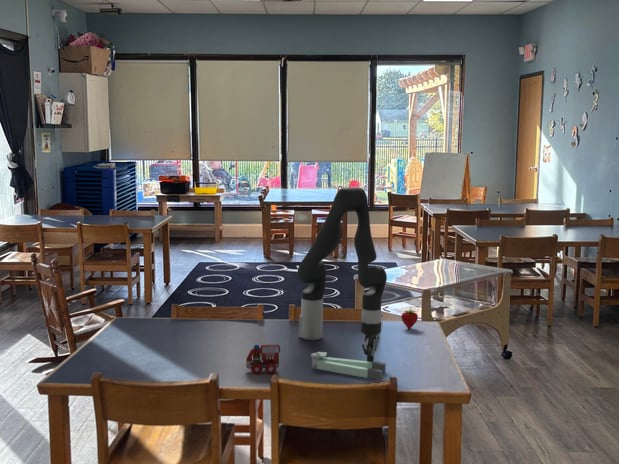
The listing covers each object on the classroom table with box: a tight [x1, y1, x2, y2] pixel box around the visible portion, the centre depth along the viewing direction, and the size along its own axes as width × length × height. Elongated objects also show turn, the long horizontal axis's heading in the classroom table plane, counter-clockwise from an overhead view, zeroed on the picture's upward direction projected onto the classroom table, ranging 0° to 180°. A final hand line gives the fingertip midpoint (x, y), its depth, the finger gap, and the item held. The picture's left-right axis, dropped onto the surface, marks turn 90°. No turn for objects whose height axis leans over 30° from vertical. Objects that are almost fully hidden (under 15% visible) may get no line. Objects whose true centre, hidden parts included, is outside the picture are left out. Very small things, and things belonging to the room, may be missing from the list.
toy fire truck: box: [245, 344, 281, 375], centre depth 260 cm, size 7×12×10 cm, turn 94°
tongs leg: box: [311, 357, 383, 381], centre depth 260 cm, size 27×3×4 cm, turn 66°
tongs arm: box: [310, 351, 387, 374], centre depth 263 cm, size 28×5×5 cm, turn 76°
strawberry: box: [401, 306, 419, 330], centre depth 314 cm, size 6×8×10 cm
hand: (370, 364), depth 265 cm, fingers closed
